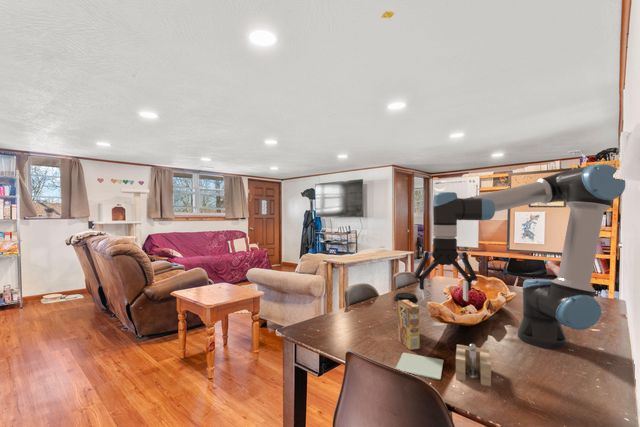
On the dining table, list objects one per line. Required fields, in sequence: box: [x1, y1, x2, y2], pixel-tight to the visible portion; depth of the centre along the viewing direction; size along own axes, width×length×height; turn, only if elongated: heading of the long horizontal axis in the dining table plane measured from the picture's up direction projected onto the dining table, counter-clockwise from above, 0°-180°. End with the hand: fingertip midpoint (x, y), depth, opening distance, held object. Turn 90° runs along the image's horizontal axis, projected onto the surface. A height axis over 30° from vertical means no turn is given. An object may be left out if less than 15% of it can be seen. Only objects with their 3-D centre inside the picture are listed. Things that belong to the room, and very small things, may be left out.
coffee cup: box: [393, 292, 419, 330], centre depth 128 cm, size 9×9×15 cm
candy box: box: [397, 300, 421, 350], centre depth 115 cm, size 9×4×15 cm, turn 13°
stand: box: [466, 343, 479, 380], centre depth 93 cm, size 3×3×10 cm
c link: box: [455, 344, 492, 387], centre depth 94 cm, size 11×9×6 cm
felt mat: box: [395, 352, 444, 381], centre depth 99 cm, size 13×13×1 cm
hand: (444, 299), depth 108 cm, fingers open, 13 cm apart
